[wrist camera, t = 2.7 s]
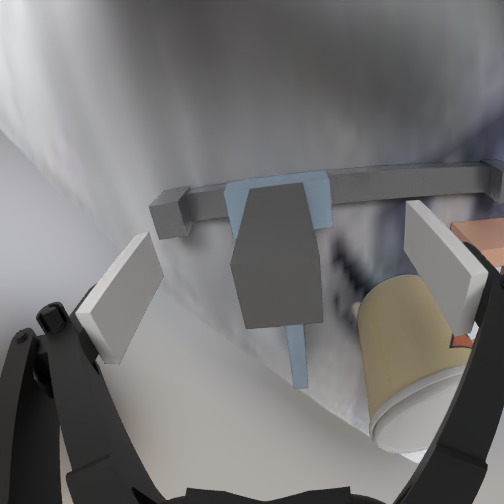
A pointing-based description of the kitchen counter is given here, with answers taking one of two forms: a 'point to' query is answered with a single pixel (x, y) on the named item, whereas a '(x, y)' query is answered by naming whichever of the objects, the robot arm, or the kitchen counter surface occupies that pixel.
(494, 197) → the rail
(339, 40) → the kitchen counter surface
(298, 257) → the pusher
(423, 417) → the coffee cup
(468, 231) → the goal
